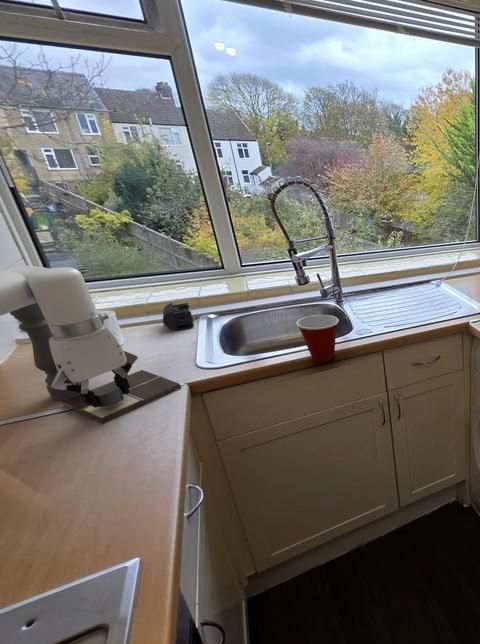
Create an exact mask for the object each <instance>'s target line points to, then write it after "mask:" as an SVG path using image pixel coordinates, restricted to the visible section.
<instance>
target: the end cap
mask: <svg viewBox="0 0 480 644" xmlns="http://www.w3.org/2000/svg"><path fill="white" fill-rule="evenodd" d="M162 323H163V325H164V326H165V327H166V328H168V329H170V330H174V331H184V330H188V329H194V327H195V324H194V318H193V315H192V312H191V310H190V305H189V303H188V302H185V303H178V304H174V303H173V302H169V303H168V304H166V305H165V306H164V307H163V310H162Z"/></svg>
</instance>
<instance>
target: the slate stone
mask: <svg viewBox="0 0 480 644" xmlns="http://www.w3.org/2000/svg"><path fill="white" fill-rule="evenodd" d="M107 384H108V383H107ZM103 385H104V384H103ZM103 385H101V387H100V386H97V387H96V389H95V388H93V389H94V390H93V389H92V390H93V392H94V394H95V397H96V399H97V401H98V403H99V406H98V407H105V406H110V405H113V404H116V403H118V402H120V401H122V400H123V399H124V398H125V394H124V392H123V390H122V388H121V385H120V384H108V385H104V386H103Z"/></svg>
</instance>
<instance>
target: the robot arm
mask: <svg viewBox="0 0 480 644" xmlns="http://www.w3.org/2000/svg"><path fill="white" fill-rule="evenodd" d="M34 303H38V305H39V307H40V309H41V311H42V313H43V315H44V317H45V320H46V322H47V324H48V326H49V328H50V330H51V332H52V334H53V336H54V337H51V338H49V345H50V350H51V353H52V357H53V360H54V363H55V365H56V368H57V371H58V373H57V375H56V377H55V379H54V381H53V382H52V384H51V387H52V388H54V389H58V390H69V391H73V392H78V393H80V395H81V397H82V399H83V401H84V403H85V404H86V405H90V406H93V407H95V408H96V407H98V406H99V403H98V401H97V399H96V397H95V394H94V392H93V391H91V390H92V389H90V386H89V385H90V384H89V383H90V381H89V379H93V378H95V377H98V376H101V375H103V374H106V373H108V372H112V373H113V374H114V376H113V381H115V383H116V384H120V385H121V388H122V390H123V392H124V394H129V393H130V391H129V389H128V388H130V385H129V383H128V380H127V378H126V377H127V376H128V375H129V372H130V371H131V369H132V366H133V365H134V364H135V363H136V361H137V360H138V359H139V356H138V355H135V354H133V353H130V352H128V351H125V350H124V349H123V347H122V345H120V344H119V342H118V340H117V339H116V337H115V336H114V334H113V333H112V331H111V330H110V329H109V327H108V326H107V325H105V324H104V323H103V321H104V320H105V319H109V316H108V315H107V314H106V313H104V314H99V313H98V312H97V311H98V310H97V308H96V304H95V302H94V300H93V297H92V295H91V293H90V290H89V289H88V286H87V283H86V281H85V279H84V277H83V274H82V273H81V272H80V270H78V269H77V268H75V267H68V266H62V267H61V266H59V267H51V268H49V267H42V266H35V265H19V266H18V265H17V266H13V267H10V268H7V269H3V270H0V317H1V316H4V315H6V314H10V312H12V311H15V310H17V309H20V308H23V307H25V306H28V305H31V304H34ZM68 378H69V380H70V381H71V382H74V385H73V384H65V383H64V382H65V380H66V379H68Z"/></svg>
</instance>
